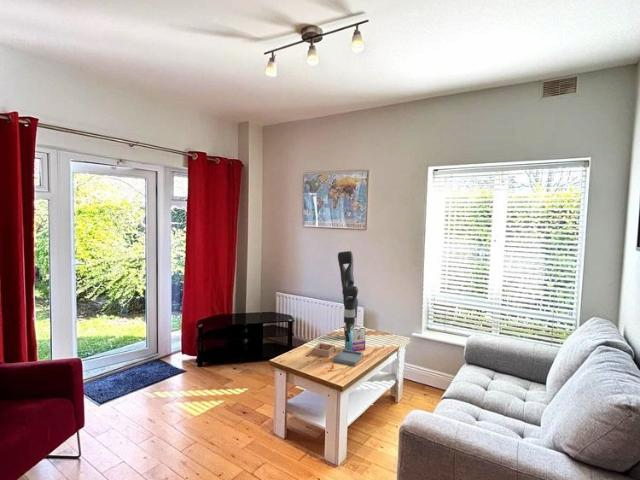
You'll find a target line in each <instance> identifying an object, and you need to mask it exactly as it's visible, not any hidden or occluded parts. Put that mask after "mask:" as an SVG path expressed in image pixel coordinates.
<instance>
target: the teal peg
mask: <svg viewBox="0 0 640 480" xmlns="http://www.w3.org/2000/svg"><path fill="white" fill-rule="evenodd" d="M352 342H353V330H351V333H350V335H349V342H346V336H345V335H344V349H345V350H349V349H352Z"/></svg>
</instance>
